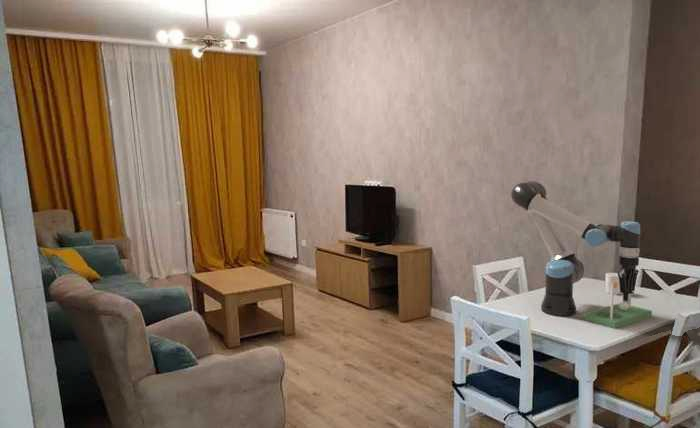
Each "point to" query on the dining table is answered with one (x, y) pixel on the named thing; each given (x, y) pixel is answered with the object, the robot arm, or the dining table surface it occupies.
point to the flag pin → (613, 285)
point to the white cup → (612, 279)
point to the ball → (624, 306)
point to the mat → (617, 316)
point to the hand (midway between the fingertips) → (626, 307)
